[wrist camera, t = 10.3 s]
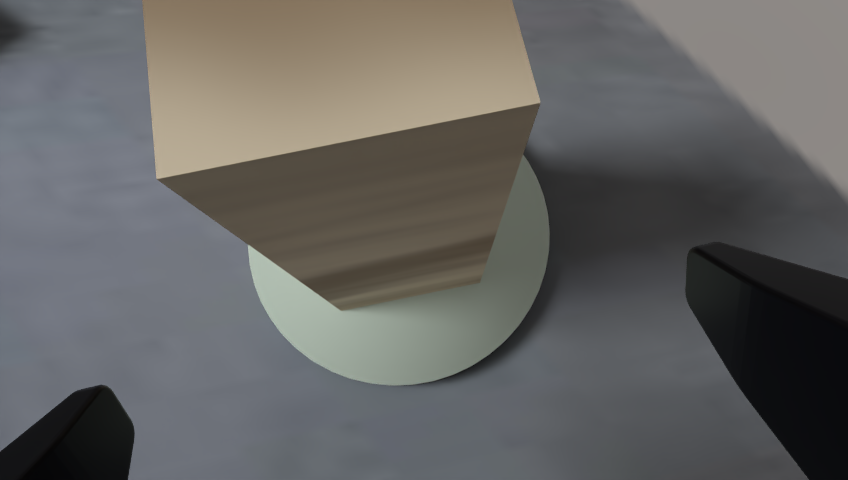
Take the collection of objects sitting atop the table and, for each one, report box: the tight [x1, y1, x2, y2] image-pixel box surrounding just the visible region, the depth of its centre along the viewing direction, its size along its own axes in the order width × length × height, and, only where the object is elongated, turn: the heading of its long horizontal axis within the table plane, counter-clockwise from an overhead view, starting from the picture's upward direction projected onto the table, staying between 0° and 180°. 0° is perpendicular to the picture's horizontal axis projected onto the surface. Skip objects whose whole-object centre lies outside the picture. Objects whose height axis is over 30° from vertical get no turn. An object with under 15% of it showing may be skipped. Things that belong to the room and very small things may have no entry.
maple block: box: [142, 0, 540, 311], centre depth 14 cm, size 5×5×13 cm
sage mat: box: [248, 155, 550, 385], centre depth 21 cm, size 11×11×1 cm
